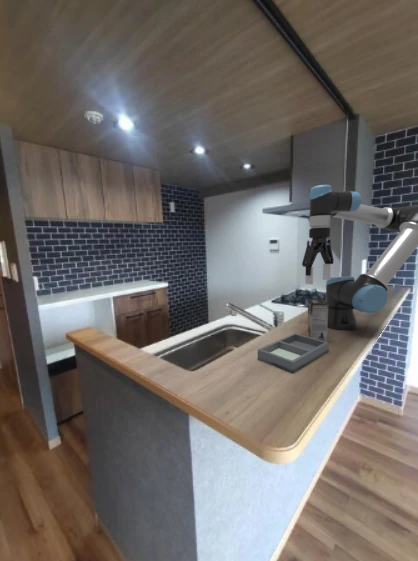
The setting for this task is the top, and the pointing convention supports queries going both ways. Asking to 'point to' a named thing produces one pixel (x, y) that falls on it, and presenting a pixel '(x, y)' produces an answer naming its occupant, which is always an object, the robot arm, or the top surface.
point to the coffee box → (317, 319)
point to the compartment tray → (293, 352)
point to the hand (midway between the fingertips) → (318, 281)
